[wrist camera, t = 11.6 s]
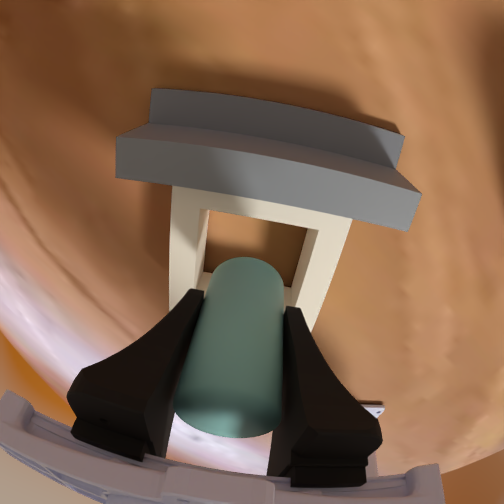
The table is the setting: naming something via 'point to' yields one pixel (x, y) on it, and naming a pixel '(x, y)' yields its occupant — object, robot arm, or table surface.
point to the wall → (270, 155)
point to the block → (200, 202)
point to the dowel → (236, 353)
